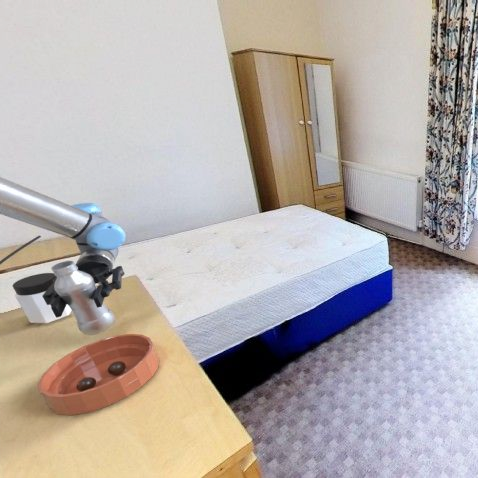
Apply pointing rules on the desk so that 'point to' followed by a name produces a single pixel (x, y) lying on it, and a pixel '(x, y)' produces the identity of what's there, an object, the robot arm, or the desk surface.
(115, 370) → the bead
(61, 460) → the desk surface
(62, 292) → the plastic bottle
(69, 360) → the bowl
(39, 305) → the jar
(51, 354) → the desk surface
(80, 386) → the bead
